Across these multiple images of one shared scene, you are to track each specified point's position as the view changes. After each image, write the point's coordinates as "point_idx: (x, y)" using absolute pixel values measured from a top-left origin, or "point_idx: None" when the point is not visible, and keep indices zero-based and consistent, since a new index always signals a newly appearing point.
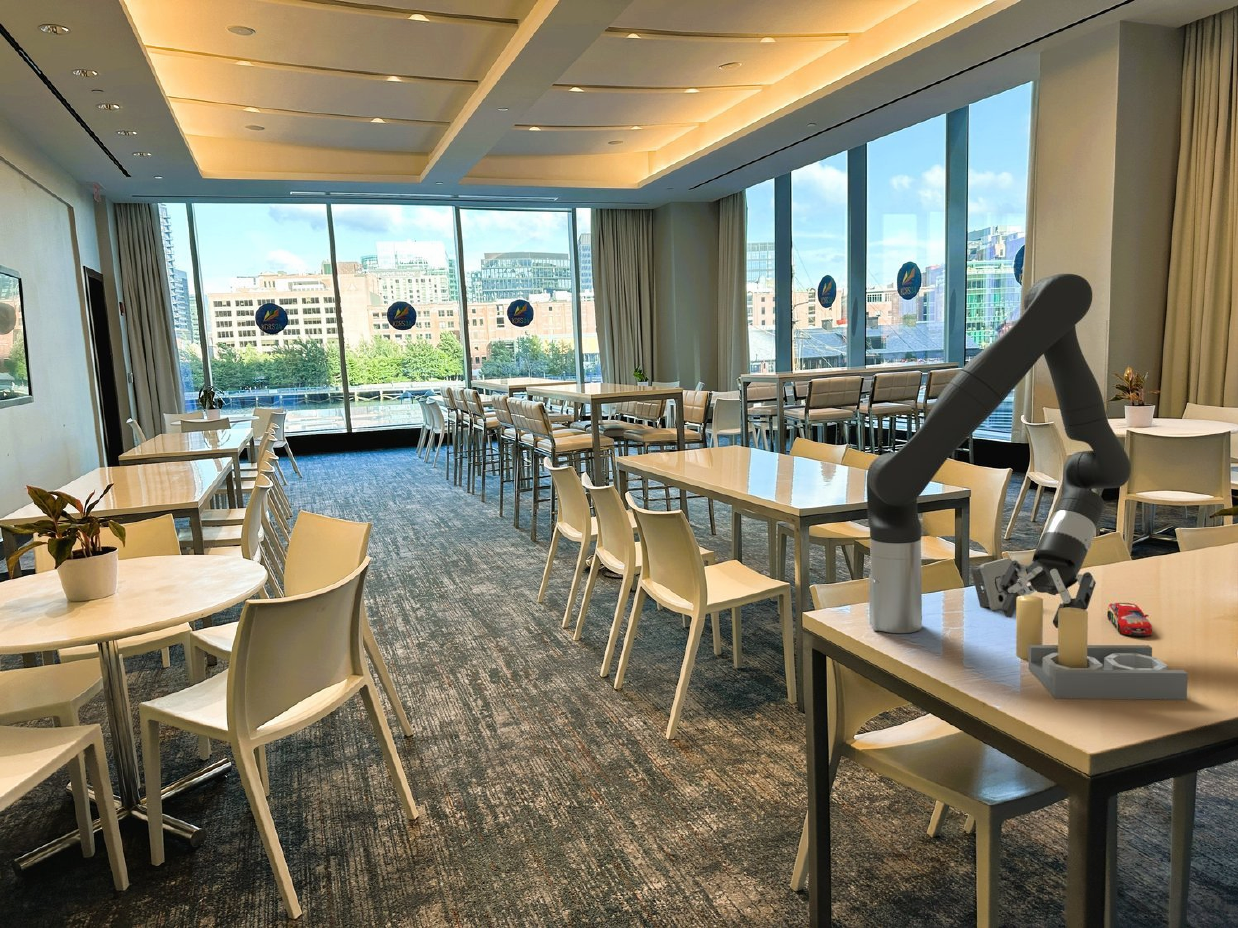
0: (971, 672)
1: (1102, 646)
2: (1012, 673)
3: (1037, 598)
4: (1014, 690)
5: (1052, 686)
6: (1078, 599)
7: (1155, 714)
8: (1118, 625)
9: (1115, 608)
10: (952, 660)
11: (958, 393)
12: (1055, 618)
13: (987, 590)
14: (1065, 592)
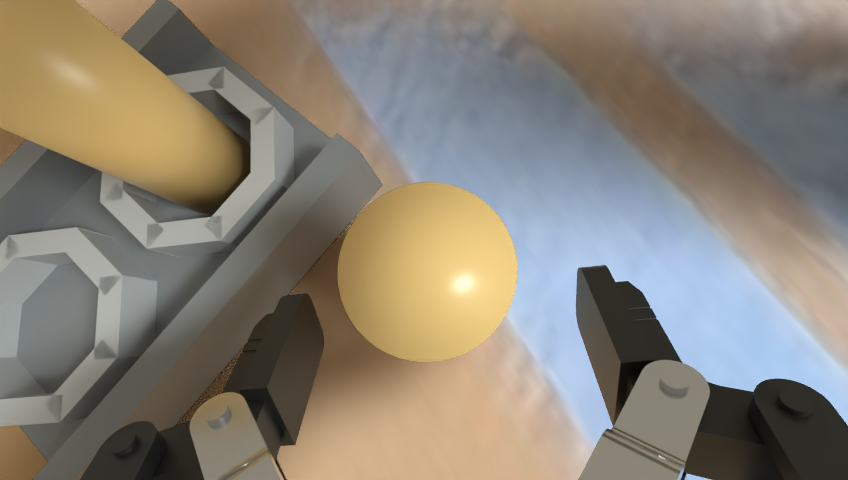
0: (480, 21)
1: (152, 366)
2: (392, 112)
3: (393, 320)
4: (314, 11)
5: (213, 45)
6: (125, 433)
7: (4, 156)
8: None
9: None
10: (596, 54)
11: None
12: (291, 305)
13: None
14: (221, 477)
